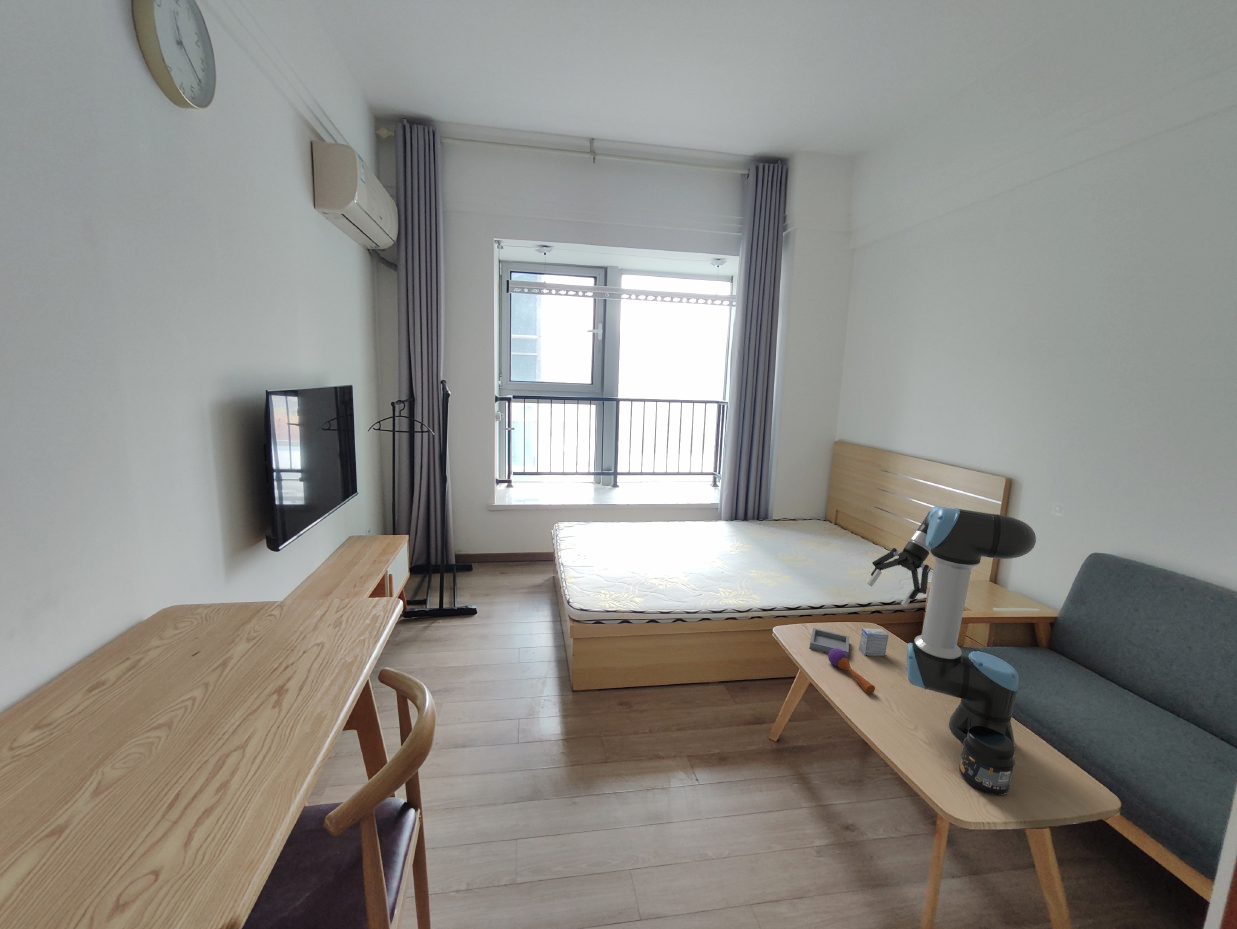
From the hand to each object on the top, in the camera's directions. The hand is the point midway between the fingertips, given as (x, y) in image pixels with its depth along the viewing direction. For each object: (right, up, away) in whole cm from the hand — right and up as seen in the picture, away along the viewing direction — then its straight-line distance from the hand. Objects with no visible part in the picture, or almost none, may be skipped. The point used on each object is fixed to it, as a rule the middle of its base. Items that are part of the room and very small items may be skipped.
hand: (885, 595), depth 184 cm
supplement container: (-4, -33, -55) cm, 64 cm away
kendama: (-18, -25, -11) cm, 33 cm away
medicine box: (-3, -23, +5) cm, 23 cm away
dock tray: (-17, -21, +9) cm, 28 cm away
